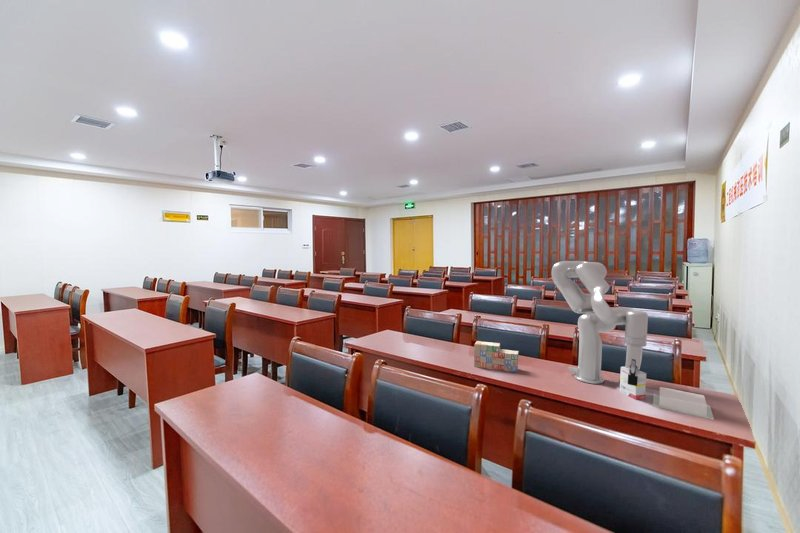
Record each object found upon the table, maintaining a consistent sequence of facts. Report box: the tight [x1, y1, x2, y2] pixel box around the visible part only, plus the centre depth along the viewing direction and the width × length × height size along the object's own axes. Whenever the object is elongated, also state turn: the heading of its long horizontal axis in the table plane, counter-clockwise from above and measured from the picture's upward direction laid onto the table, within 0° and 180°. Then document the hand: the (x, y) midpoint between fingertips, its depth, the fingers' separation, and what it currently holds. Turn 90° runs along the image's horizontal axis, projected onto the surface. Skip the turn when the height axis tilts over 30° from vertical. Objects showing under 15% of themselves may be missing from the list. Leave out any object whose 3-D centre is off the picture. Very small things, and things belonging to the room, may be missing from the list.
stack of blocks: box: [473, 340, 519, 373], centre depth 183 cm, size 21×6×12 cm, turn 68°
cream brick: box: [658, 386, 708, 418], centre depth 139 cm, size 14×12×4 cm
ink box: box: [619, 366, 647, 401], centre depth 148 cm, size 9×5×12 cm, turn 10°
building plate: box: [652, 393, 715, 421], centre depth 139 cm, size 18×14×1 cm
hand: (633, 381), depth 148 cm, fingers closed on ink box, 9 cm apart
